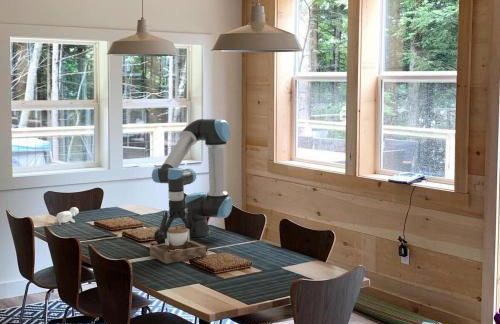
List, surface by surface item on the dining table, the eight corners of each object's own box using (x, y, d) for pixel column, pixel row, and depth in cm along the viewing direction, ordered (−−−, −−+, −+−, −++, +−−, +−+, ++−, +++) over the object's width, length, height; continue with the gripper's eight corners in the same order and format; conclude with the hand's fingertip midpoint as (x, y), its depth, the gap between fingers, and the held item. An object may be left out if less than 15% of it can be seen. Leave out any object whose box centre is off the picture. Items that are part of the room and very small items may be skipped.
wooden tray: (188, 248, 377) (188, 239, 376) (206, 256, 362) (205, 246, 361) (150, 255, 365) (149, 245, 364) (166, 263, 350) (166, 253, 349)
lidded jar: (177, 240, 370) (177, 222, 368) (192, 243, 363) (192, 225, 362) (162, 244, 362) (161, 226, 360) (177, 247, 355) (177, 229, 354)
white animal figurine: (63, 229, 438) (83, 217, 447) (58, 217, 435) (78, 205, 443) (56, 227, 444) (76, 215, 453) (51, 215, 441) (71, 203, 450)
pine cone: (170, 251, 372) (169, 232, 370) (150, 245, 385) (149, 227, 384) (186, 248, 379) (186, 229, 377) (166, 242, 392) (166, 223, 390)
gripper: (158, 203, 350) (159, 248, 353) (200, 198, 362) (201, 241, 365) (151, 201, 356) (153, 245, 359) (193, 195, 369) (194, 238, 372)
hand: (177, 243), depth 362 cm, fingers closed on lidded jar, 11 cm apart
